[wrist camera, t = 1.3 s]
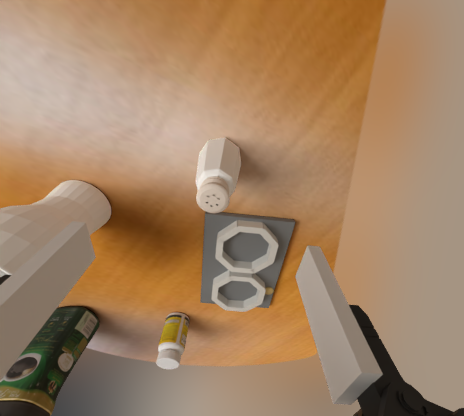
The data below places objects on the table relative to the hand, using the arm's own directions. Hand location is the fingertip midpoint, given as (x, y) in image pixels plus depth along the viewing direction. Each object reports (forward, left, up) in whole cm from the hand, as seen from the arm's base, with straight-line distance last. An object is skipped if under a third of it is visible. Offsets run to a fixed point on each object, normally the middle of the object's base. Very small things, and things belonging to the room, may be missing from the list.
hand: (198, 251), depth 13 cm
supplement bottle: (+35, -6, -17) cm, 39 cm away
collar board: (+18, +5, -17) cm, 25 cm away
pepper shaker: (0, 0, -17) cm, 17 cm away
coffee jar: (+37, -27, -17) cm, 48 cm away
